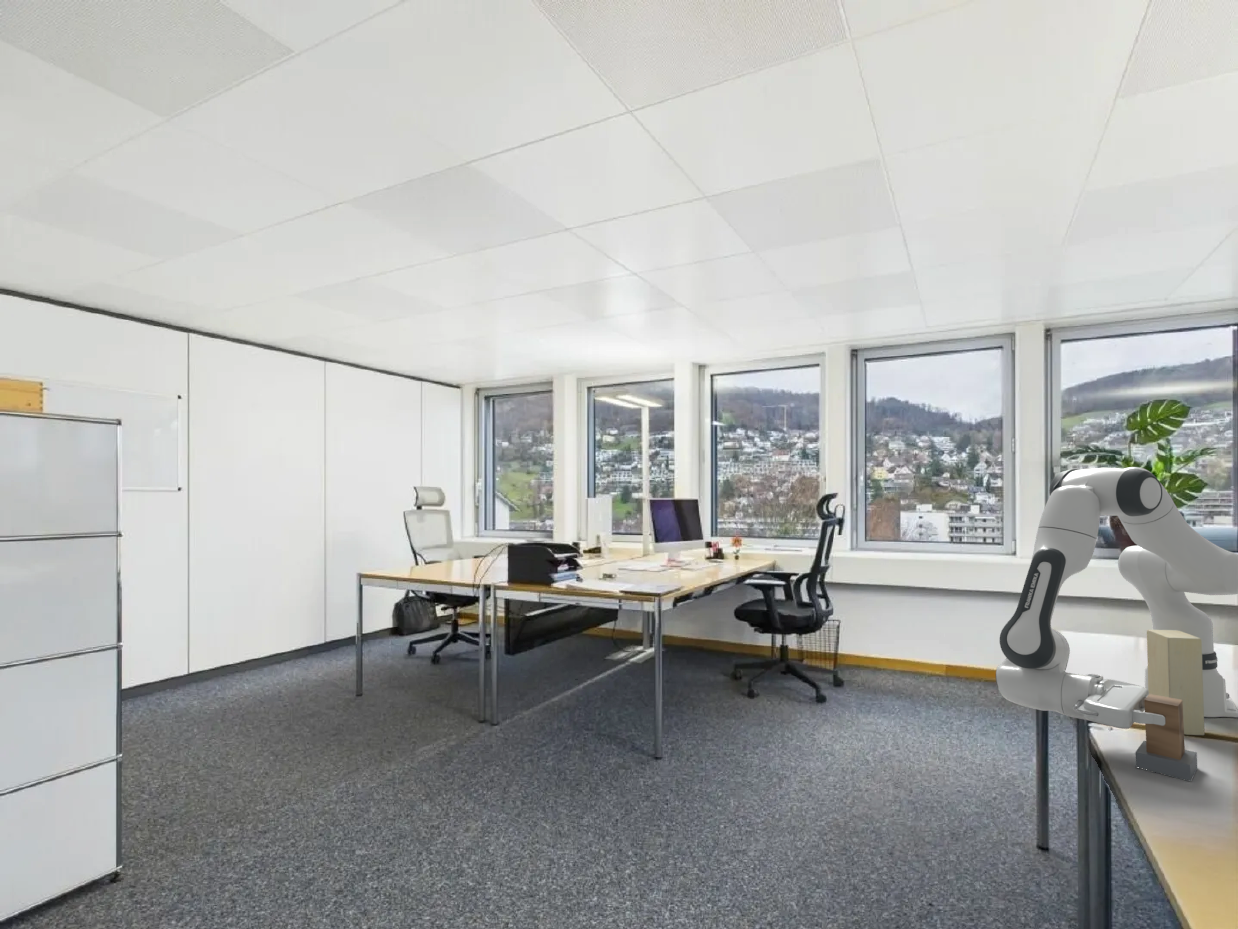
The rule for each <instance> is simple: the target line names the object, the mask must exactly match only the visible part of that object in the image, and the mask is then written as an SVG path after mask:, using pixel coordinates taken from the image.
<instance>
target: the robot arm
mask: <svg viewBox="0 0 1238 929" xmlns="http://www.w3.org/2000/svg"><path fill="white" fill-rule="evenodd" d="M1048 491H1049V497H1048V499H1047V501H1046V503H1045V506H1044V508H1043V511H1042V513H1041V517H1040V520H1039V523H1038V528H1037V531H1036V532H1037V533H1036V537H1035V541H1034V548H1033V553H1032V557H1031V562H1030V565H1029V568H1028V571H1027V575H1026V578H1025V579H1024V580H1025V581H1024V583H1023V584H1024V585H1023V587H1022V589H1021V590H1022V591H1021V594H1020V598H1019V600H1018V604H1017V607H1016V609H1015V611H1014V614H1013V615H1012V616H1011V617H1010V619H1009V620H1008V621H1007V622H1006V623H1005V625H1004V626H1003V627H1002V629H1001V631H1000V635H999V646H1000V649H1001V651H1002V654H1003V655H1004V656H1005V659H1004V660H1003V661H1002V662H1001V663H1000V664H998V666H997V667H996V671H995V682H996V688H998V692H999V694H1000V695H1001V696H1002V697H1003V698H1004V699H1006V700H1007V701H1009V702H1011V703H1013V704H1016V705H1019V706H1022V707H1024V708H1025V707H1026V708H1030V709H1034V710H1038V711H1044V712H1045V711H1051V712H1056V713H1059V714H1061V715H1063V716H1067V717H1071V718H1075V719H1079V720H1080V719H1081V720H1085V721H1090V722H1093V723H1098V724H1101V725H1105V726H1109V727H1113V728H1117V729H1126V730H1127V729H1130V728H1131V727H1132V726H1133V725H1134V724H1140V725H1141V724H1142V725H1144V724H1157V725H1162V726H1163V725H1165V724H1166V716H1165V715H1164V714H1159V713H1155V712H1154V713H1147V712H1145V704H1144V700H1145V698H1146V697H1147V696H1148V695H1149V690H1148V665H1147V666H1145V667H1144V686H1141V685H1138V684H1134V683H1131V682H1125V681H1121V680H1116V679H1112V678H1111V679H1110V678H1104V675H1103V674H1095V673H1091V674H1090V673H1089V674H1079V673H1078V674H1077V673H1071V672H1066V669H1067V667H1068V663H1069V658H1070V653H1071V652H1070V651H1071V650H1070V645H1069V642H1068V640H1067V638H1066V637H1065V636H1064V635H1063V633H1061V632H1059V631H1058V630H1056V629H1055V628H1052V618H1053V615H1054V611H1055V608H1056V604H1057V600H1058V597H1059V593H1060V591H1061V587H1062V586H1063V584H1064V583H1065V581H1067V580H1068V579H1069V578H1071V577H1072V576H1074V575H1076V574H1079V573H1080V572H1082V571H1084V570H1085V569H1086V568H1087V567H1088V565H1089V564H1090V562H1091V559H1092V557H1093V555H1094V552H1095V548H1096V545H1097V544H1096V543H1097V540H1098V536H1099V530H1100V528H1099V527H1100V519H1101V517H1104V516H1106V517H1107V516H1109V517H1110V516H1111V517H1112V516H1113V517H1115V516H1117V518H1118V519H1119V521H1120V522H1121V524H1122V526H1123V528H1124V529H1125V531H1126V533H1127V535H1128V536H1129V538H1130V539H1131V541H1132V542H1133V543H1134V544H1135V545H1131V546H1126V547H1125V549H1123V550H1122V551H1121V553H1120V554H1119V556H1118V557H1119V558H1118V560H1117V567H1118V570H1119V573H1120V575H1121V576H1122V578H1123V579H1124V580H1125V581H1126V582H1128V584H1131V585H1132V586H1133V587H1134V588H1135V589H1136V590H1137V591H1138V593H1139V594H1140V595H1141V596H1142V598H1143V600H1144V602H1145V603H1146V605H1147V607H1148V610H1149V612H1150V618H1151V625H1152V630H1178V631H1182V632H1184V633H1187V634H1190V635H1193V636H1195V637H1198V638H1201V640H1202V670H1203V703H1204V718H1220V717H1225V718H1226V717H1227V718H1238V709H1237V706H1236V705H1235V703H1234V701H1233V699H1232V698H1231V697H1230V694H1229V692H1227V687H1226V686H1227V685H1226V684H1227V683H1226V679H1225V678H1224V676H1222V675H1221V674H1220V673H1219V671H1218V669H1217V668H1218V662H1219V661H1218V660H1219V659H1218V656H1217V653H1216V651H1215V649H1214V648H1215V646H1214V625H1213V622H1212V619H1211V618H1210V616H1209V615H1208V614H1207V613H1206V612H1204V611H1203V610H1201V609H1199V608H1198V607H1196V606H1195V605H1193V604H1192V603H1191V602H1190V601H1189V599H1188V597H1187V596H1186V593H1191V594H1197V595H1206V596H1230V595H1231V596H1232V595H1237V594H1238V554H1237V553H1234V552H1233V551H1229V550H1227V549H1224V548H1223V547H1220V546H1218V545H1217V544H1215V543H1213V542H1212V541H1210V540H1209V539H1207V538H1205V537H1203V535H1201V534H1200V533H1199V532H1197V531H1196V530H1195V529H1193V528H1192V527H1191V526H1190V525H1189V523H1187V521H1186V520H1185V517H1184V516H1183V515H1182V513H1181V512H1180V510H1179V509H1178V507H1177V506H1176V504H1175V502H1174V500H1173V498H1172V497H1171V495H1170V494H1169V492H1168V491H1167V489H1166V488H1165V486H1163V484H1162V483H1161V482H1160V480H1159V479H1158V478H1157V477H1156V476H1155V475H1154V474H1153V473H1152V472H1151V471H1149V470H1148V469H1146V468H1143V467H1138V466H1129V467H1125V468H1124V467H1123V468H1117V467H1099V468H1097V467H1095V468H1084V469H1078V468H1077V469H1076V468H1074V469H1067V470H1063V471H1060V472H1059V473H1057V474H1056V475H1055V477H1054V478H1052V480H1051V482H1050V485H1049V490H1048Z"/></svg>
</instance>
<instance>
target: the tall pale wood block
mask: <svg viewBox="0 0 1238 929" xmlns="http://www.w3.org/2000/svg"><path fill="white" fill-rule="evenodd" d="M1146 645H1147V646H1146V653H1147V666H1148V690H1149V694H1153V695H1158V696H1164V697H1170V698H1175V699H1181V700H1183V721H1184V735H1188V736H1189V735H1191V736H1205V717H1204V703H1203V670H1202V640H1201V638H1198V637H1195V636H1193V635H1190V634H1187V633H1184V632H1182V631H1178V630H1153V629H1147V630H1146Z"/></svg>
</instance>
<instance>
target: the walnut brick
mask: <svg viewBox="0 0 1238 929" xmlns="http://www.w3.org/2000/svg"><path fill="white" fill-rule="evenodd" d="M1144 704H1145V710H1144V712H1147V713H1154V712H1155V713H1159V714H1164V715H1165V716H1166V724H1165V725H1163V726H1162V725H1157V724H1145V725H1144V726H1145V741H1146V751H1147V752H1149V753H1153V754H1157V755H1162V756H1166V757H1170V758H1174V759H1179V760H1181V758H1182V756H1183V755H1184V753H1185V750H1186V748H1185V746H1186V745H1185V734H1184V721H1183V700H1181V699H1175V698H1170V697H1164V696H1158V695H1153V694H1149V695H1148V696H1147V697H1146V698H1145V700H1144Z"/></svg>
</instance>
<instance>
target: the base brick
mask: <svg viewBox="0 0 1238 929" xmlns="http://www.w3.org/2000/svg"><path fill="white" fill-rule="evenodd" d="M1197 753H1198V752H1196V751H1192V750H1187V749H1185V753H1184V755H1183V756H1182V758H1181V760H1179V759H1174V758H1170V757H1166V756H1162V755H1157V754H1153V753H1149V752H1147V751H1146V740H1143V741H1142V743H1141V744H1140V745H1139V746H1138V748H1137V749H1136V750H1135V752H1134V754H1135V768H1136V767H1139V768H1143V769H1145V770H1144V771H1147V770H1149V771H1148V772H1151V771H1153V772H1152V773H1155V772H1156V774H1159V773H1162V774H1161V775H1163V774H1165V775H1164V776H1167V775H1168V777H1171V776H1172V777H1171V778H1176V779H1180V780H1183V779H1185V780H1184V781H1187V780H1188V781H1187V782H1191V781H1192V780H1193V777H1194V776H1195V774H1196V772H1197V769H1198V754H1197ZM1139 768H1138V769H1139ZM1143 769H1142V770H1143ZM1146 769H1147V770H1146Z"/></svg>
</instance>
